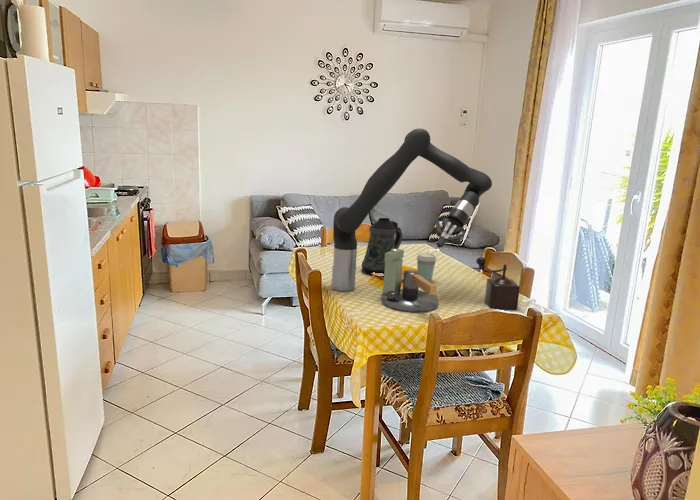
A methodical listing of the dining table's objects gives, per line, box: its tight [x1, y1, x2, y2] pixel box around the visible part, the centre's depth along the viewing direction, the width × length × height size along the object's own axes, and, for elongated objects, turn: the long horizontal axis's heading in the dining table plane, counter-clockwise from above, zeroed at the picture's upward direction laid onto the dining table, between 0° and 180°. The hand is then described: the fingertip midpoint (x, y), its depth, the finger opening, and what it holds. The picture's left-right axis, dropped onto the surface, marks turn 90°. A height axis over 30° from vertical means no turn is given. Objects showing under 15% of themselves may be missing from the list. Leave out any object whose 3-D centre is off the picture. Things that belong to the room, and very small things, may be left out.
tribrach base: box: [380, 248, 440, 314], centre depth 204 cm, size 22×22×20 cm
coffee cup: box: [416, 252, 437, 283], centre depth 234 cm, size 8×9×12 cm
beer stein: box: [361, 217, 403, 277], centre depth 245 cm, size 16×19×25 cm
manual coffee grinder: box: [475, 256, 520, 311], centre depth 207 cm, size 16×11×18 cm
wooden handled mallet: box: [402, 269, 438, 300], centre depth 198 cm, size 21×6×10 cm, turn 18°
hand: (438, 246), depth 204 cm, fingers closed
